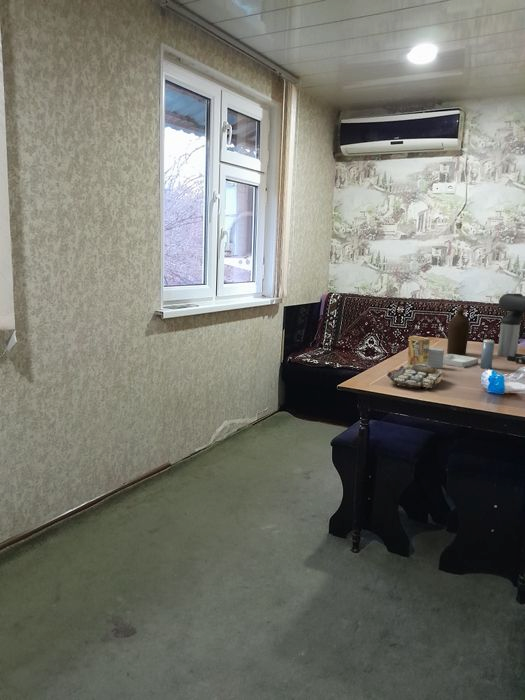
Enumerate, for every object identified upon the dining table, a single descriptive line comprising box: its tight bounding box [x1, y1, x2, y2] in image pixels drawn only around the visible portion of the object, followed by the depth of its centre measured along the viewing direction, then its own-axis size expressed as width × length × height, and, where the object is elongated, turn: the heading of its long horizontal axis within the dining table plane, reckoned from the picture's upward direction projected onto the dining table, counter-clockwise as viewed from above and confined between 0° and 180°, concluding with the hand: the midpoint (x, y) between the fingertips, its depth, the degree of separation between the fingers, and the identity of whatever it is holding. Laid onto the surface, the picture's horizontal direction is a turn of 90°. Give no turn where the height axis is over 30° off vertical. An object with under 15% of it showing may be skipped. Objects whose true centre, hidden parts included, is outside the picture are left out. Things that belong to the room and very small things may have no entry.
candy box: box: [406, 335, 431, 366], centre depth 240 cm, size 9×4×15 cm, turn 33°
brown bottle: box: [446, 306, 471, 356], centre depth 281 cm, size 11×11×25 cm
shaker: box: [479, 339, 495, 370], centre depth 249 cm, size 5×5×13 cm
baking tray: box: [386, 364, 447, 390], centre depth 218 cm, size 30×22×5 cm
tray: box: [443, 354, 479, 368], centre depth 259 cm, size 16×14×2 cm
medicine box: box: [428, 347, 445, 369], centre depth 248 cm, size 8×4×9 cm, turn 65°
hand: (511, 356), depth 241 cm, fingers open, 8 cm apart
